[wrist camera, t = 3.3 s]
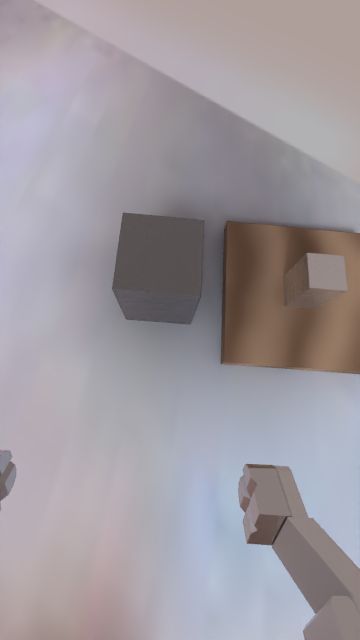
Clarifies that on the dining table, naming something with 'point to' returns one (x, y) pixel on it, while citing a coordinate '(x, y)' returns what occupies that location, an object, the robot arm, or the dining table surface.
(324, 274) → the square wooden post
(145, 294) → the grey square block
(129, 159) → the dining table surface
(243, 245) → the base plate
